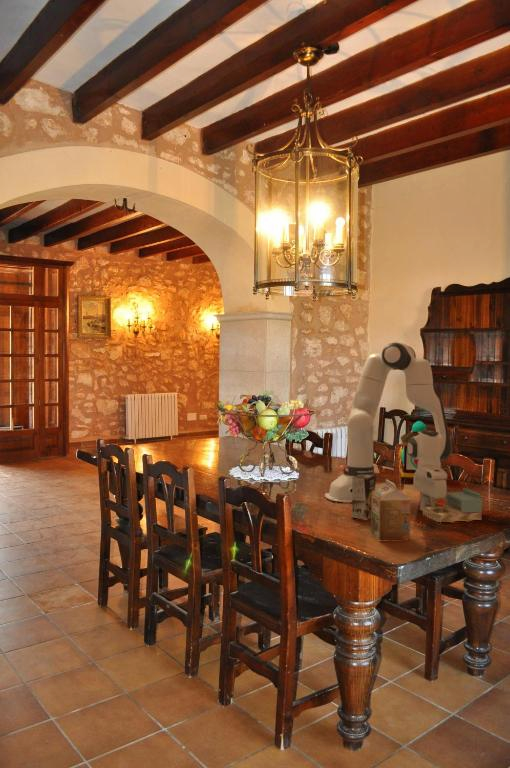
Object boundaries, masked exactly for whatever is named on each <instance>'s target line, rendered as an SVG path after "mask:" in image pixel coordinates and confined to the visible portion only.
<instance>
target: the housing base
mask: <svg viewBox="0 0 510 768" xmlns="http://www.w3.org/2000/svg"><path fill="white" fill-rule="evenodd" d="M482 514H483V513H482V512H468V513H462V512H461V505H452V506H447V505H442V506H441V505H440V506H435V507H423V512H422V515H423V516H424V515H425V516H424V517H426V516H427V517H426V518H428V517H429V518H428V519H430V518H431V519H433V520H435V521H437V522H440V523H439V524H442V523H441V522H451V523H456V522H455V521H466V522H473V521H472V520H481V521H482V516H483V515H482ZM431 519H430V520H431ZM433 520H432V521H433ZM435 521H434V522H435ZM437 522H436V523H437Z"/></svg>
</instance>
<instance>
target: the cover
mask: <svg viewBox="0 0 510 768" xmlns="http://www.w3.org/2000/svg"><path fill="white" fill-rule="evenodd" d="M481 495H482V494H481V493H479V492H476V491H474V490H471V489H468V488H462V491H454V492H446V497H445V506H454V505H461V512H462V513H468V512H481V513H482V512H483V511H482V510H483V509H482V508H483V498H481Z"/></svg>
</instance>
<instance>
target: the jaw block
mask: <svg viewBox="0 0 510 768" xmlns="http://www.w3.org/2000/svg"><path fill="white" fill-rule="evenodd" d="M419 497H420V499H419V501H420V502H419V503H420V504H419V511H420V510H422V511H423V507H430V506H429V502H431V496H430V495H423V496H421V495H420V496H419ZM422 511H421V512H422Z"/></svg>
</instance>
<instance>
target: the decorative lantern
mask: <svg viewBox="0 0 510 768" xmlns="http://www.w3.org/2000/svg"><path fill="white" fill-rule="evenodd" d="M422 430H427V426H426V424H425V423H424V422H423V421H422V420H418V421H416V422H414V423H413V425H412V427H411V429H410V431H409V432H407V433H404V434H403V435H401V437H400V441H401V443H402V448H400V449H399V450H398V453H397V457H398V459H399V460H401V467H400V469H399V477H400V476H401V477H400V481H401V484H403V485H404V484H405V480H407V479H408V480H409V479H410V480H411V479H412V480H414V474H415V472H416V469H417V468H418V460H419V459H414V458H411V457H410V456H409V455H408V453H407V442H408V440H409V439H410V438H411V437H414V436H417V435H419V433H420V431H422Z"/></svg>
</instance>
